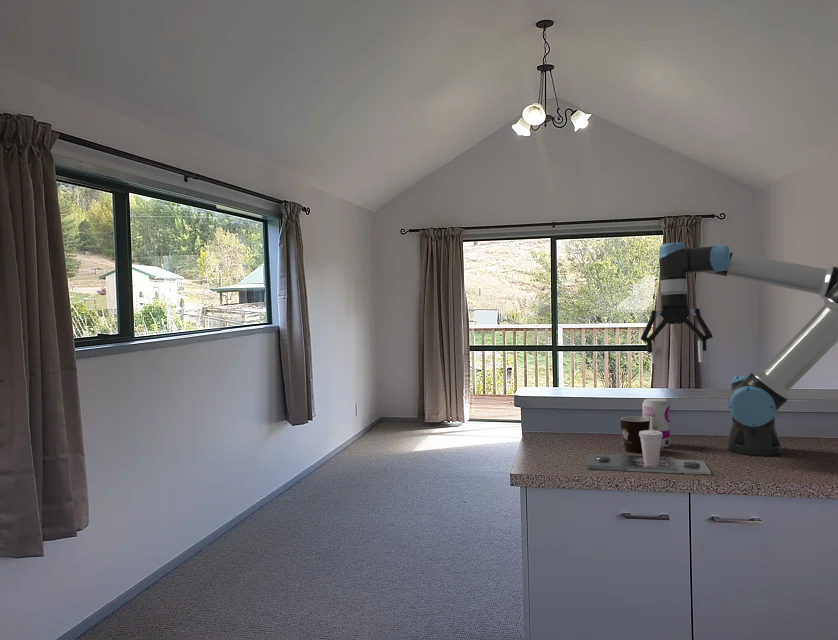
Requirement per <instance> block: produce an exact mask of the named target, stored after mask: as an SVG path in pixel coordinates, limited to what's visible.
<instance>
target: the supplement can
mask: <svg viewBox="0 0 838 640" xmlns="http://www.w3.org/2000/svg"><path fill="white" fill-rule="evenodd" d="M641 405H642V409H641V410H642V417H644V418H648V419H650V417H652V428H653V431H659V432H662V433H663V437H662V438H661V447H660V449H661V448H662V449H663V448H664V447H665V448H667V447H669V446H670V445H671V417H670V415H671V414H670V413H671V412H670V411H671V410H670V408H671V407H670V403H669V402H668V399H666V398H660V397H648V398H644V400H643V402H642V403H641ZM649 430H650V422H649Z"/></svg>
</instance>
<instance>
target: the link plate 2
mask: <svg viewBox="0 0 838 640" xmlns="http://www.w3.org/2000/svg"><path fill="white" fill-rule="evenodd" d="M673 459H674V461H675V463H676V465H677V468H678V471H664V470H643V469H625V472H626V471H627V472H642V473H663V474H664V473H665V474H681V473H684V474H686V475H702V474H707V475H706V476H712V475H713V474H712V471H711V470H710V468H709V467H708V466H707V463H706V462H705V460H695V459H675V458H673ZM633 462H636V463H637V462H641V463H642V462H643V463H644V460H636V459H633ZM663 463H664V464H665V465H666V467H668V466H667V463H666V461H660V460H659V464H663Z"/></svg>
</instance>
